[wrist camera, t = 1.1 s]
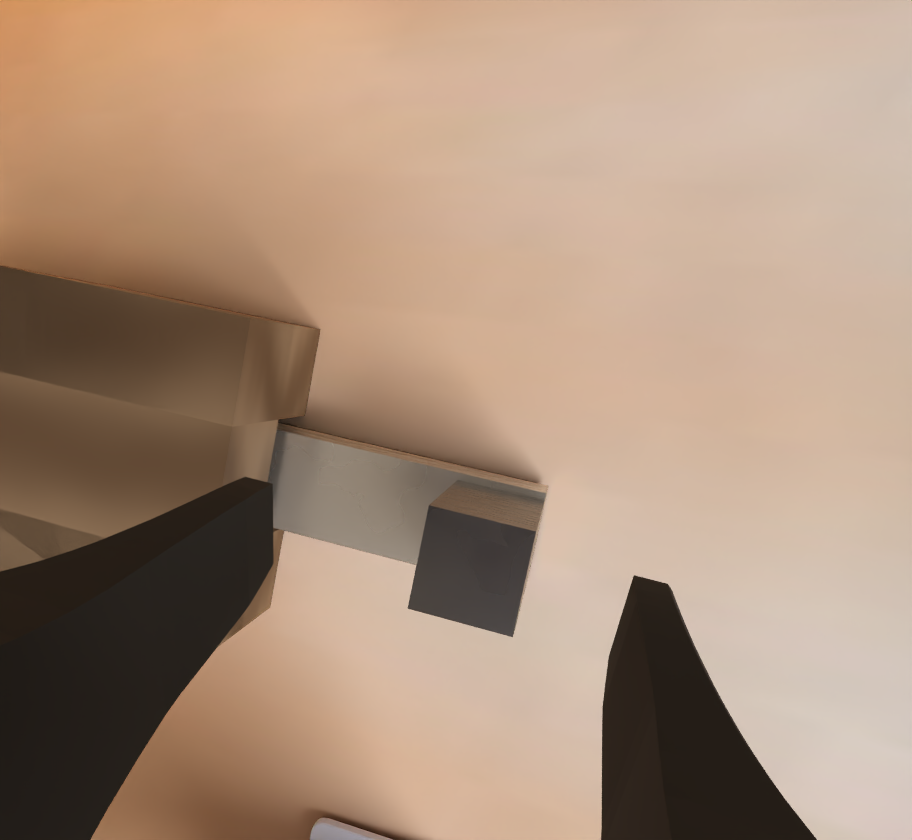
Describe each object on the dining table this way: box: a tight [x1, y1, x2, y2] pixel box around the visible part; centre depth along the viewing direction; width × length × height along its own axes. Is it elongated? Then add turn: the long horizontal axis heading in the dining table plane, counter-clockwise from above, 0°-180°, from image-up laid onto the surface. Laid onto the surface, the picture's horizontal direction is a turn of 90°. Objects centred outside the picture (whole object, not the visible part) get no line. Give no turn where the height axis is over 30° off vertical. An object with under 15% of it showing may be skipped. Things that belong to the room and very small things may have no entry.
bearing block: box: [0, 266, 320, 646], centre depth 24 cm, size 11×9×6 cm
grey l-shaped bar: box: [267, 423, 548, 637], centre depth 23 cm, size 4×24×6 cm, turn 78°
